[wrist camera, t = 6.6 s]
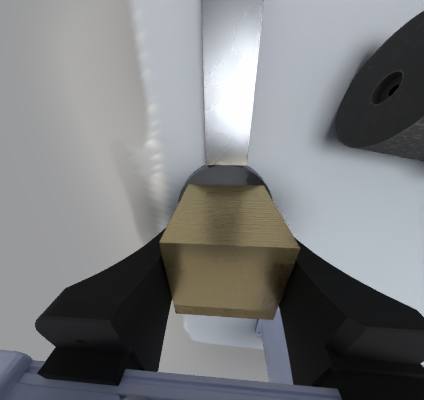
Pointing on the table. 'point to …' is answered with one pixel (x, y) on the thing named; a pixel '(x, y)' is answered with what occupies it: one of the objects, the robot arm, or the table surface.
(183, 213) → the wood grain cube
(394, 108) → the laser sight
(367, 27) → the table surface
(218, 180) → the ratchet
